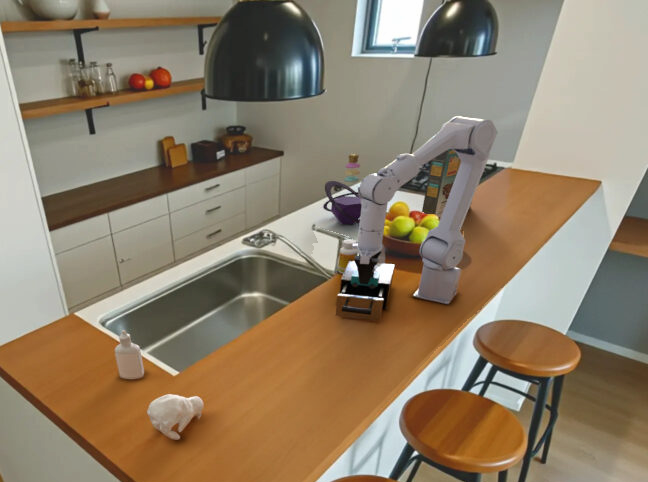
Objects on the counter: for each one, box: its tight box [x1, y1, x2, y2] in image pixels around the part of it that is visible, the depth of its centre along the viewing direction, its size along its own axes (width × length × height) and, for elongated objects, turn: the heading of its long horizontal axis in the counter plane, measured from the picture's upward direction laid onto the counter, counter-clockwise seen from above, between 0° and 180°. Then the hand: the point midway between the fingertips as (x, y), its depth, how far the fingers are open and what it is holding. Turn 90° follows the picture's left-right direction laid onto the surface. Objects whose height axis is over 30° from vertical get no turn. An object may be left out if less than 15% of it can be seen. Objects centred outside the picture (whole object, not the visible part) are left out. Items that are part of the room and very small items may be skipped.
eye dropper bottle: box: [114, 329, 145, 380], centre depth 107 cm, size 4×6×12 cm
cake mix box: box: [421, 132, 473, 219], centre depth 182 cm, size 22×6×30 cm, turn 121°
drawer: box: [335, 282, 385, 322], centre depth 124 cm, size 17×11×6 cm, turn 157°
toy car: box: [351, 267, 380, 289], centre depth 122 cm, size 6×4×5 cm, turn 67°
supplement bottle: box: [337, 238, 359, 275], centre depth 147 cm, size 5×5×10 cm
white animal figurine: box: [146, 393, 205, 441], centre depth 92 cm, size 6×8×12 cm
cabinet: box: [339, 261, 396, 311], centre depth 133 cm, size 13×12×8 cm
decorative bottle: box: [322, 153, 362, 226], centre depth 181 cm, size 22×21×25 cm
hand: (365, 280), depth 122 cm, fingers closed on toy car, 3 cm apart
